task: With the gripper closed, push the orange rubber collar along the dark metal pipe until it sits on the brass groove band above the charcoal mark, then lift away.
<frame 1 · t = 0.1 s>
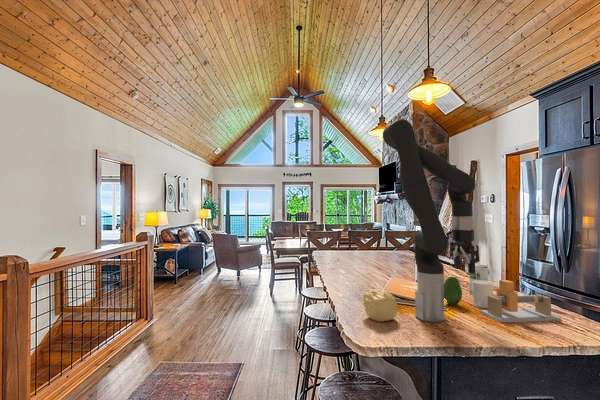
hand: (464, 270, 124), 17 cm above the worktop, tool pointing down, fingers open, 8 cm apart
avocado: (451, 304, 139), on the worktop
collar: (506, 295, 124), point 8 cm above the worktop, slide at 0.0 cm
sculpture: (380, 319, 121), on the worktop
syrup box: (478, 295, 156), on the worktop
pipe stand: (519, 316, 124), on the worktop
white cup: (482, 306, 138), on the worktop
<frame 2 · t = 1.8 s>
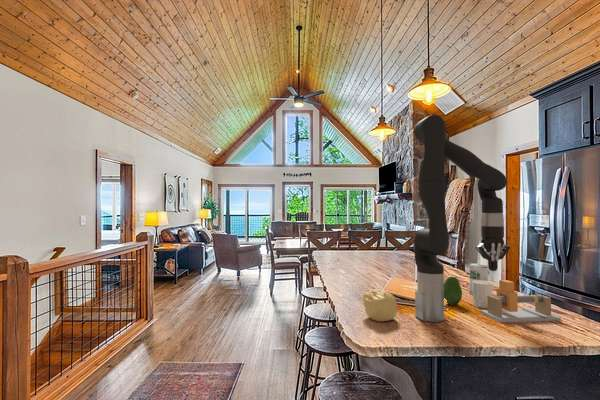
hand: (493, 270, 124), 18 cm above the worktop, tool pointing down, fingers closed
nothing on the worktop moved.
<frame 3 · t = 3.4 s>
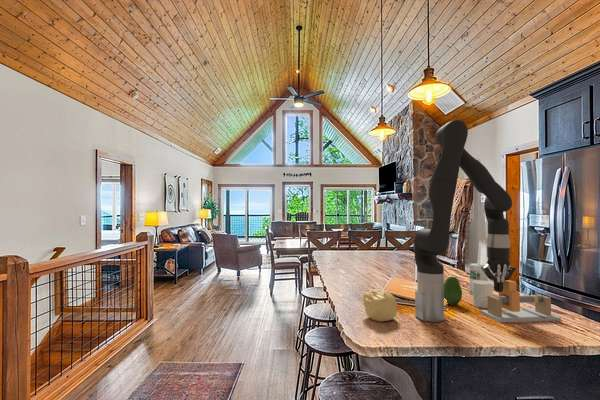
hand: (498, 291, 124), 10 cm above the worktop, tool pointing down, fingers closed
collar: (508, 294, 124), point 8 cm above the worktop, slide at 0.9 cm, touching gripper
everything else where it was.
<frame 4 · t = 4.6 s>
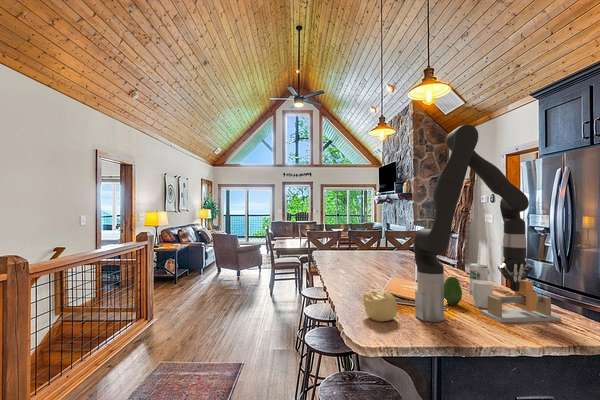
hand: (515, 291, 124), 10 cm above the worktop, tool pointing down, fingers closed
collar: (525, 294, 125), point 8 cm above the worktop, slide at 7.7 cm, touching gripper
everything else where it was.
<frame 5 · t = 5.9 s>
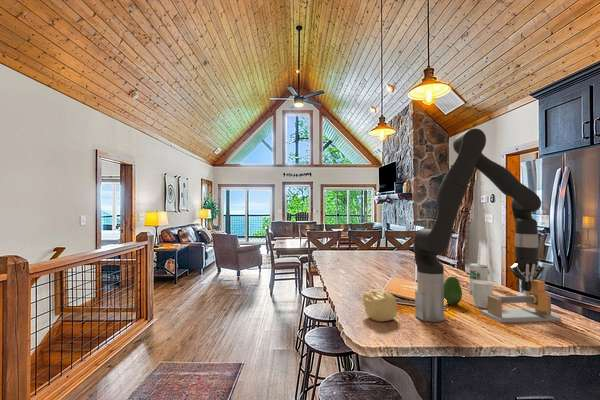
hand: (526, 290, 125), 10 cm above the worktop, tool pointing down, fingers closed
collar: (536, 294, 125), point 8 cm above the worktop, slide at 12.5 cm, touching gripper
everything else where it was.
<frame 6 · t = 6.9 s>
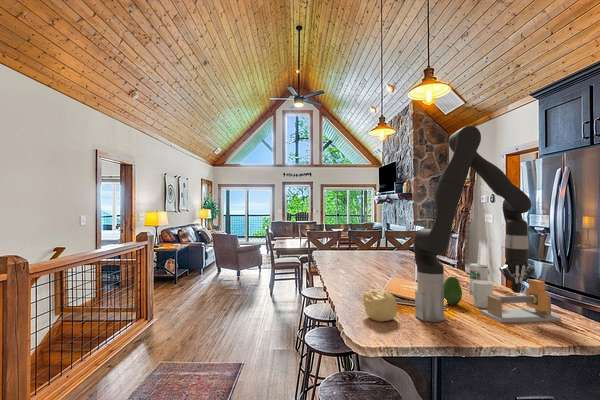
hand: (516, 292, 124), 9 cm above the worktop, tool pointing down, fingers closed
collar: (536, 294, 125), point 8 cm above the worktop, slide at 12.5 cm, touching pipe stand
everything else where it was.
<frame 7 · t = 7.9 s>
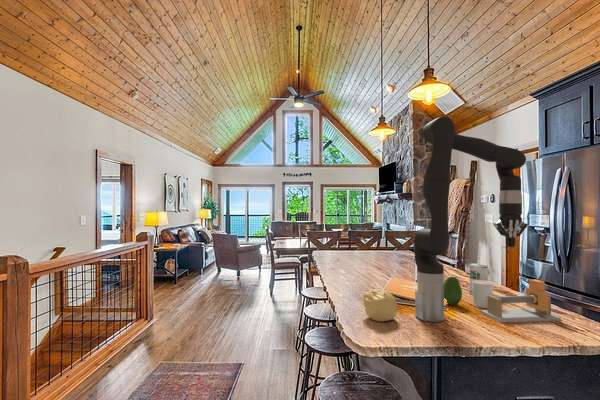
hand: (510, 247, 126), 26 cm above the worktop, tool pointing down, fingers closed
nothing on the worktop moved.
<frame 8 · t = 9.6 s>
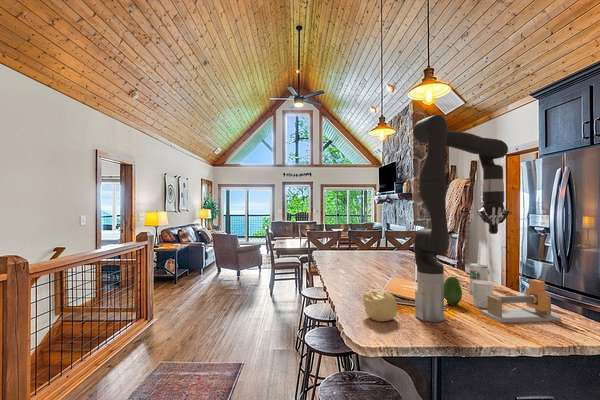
hand: (493, 233, 131), 31 cm above the worktop, tool pointing down, fingers closed
nothing on the worktop moved.
at the end: collar slide at 12.5 cm; collar moved 12.5 cm from its start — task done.
